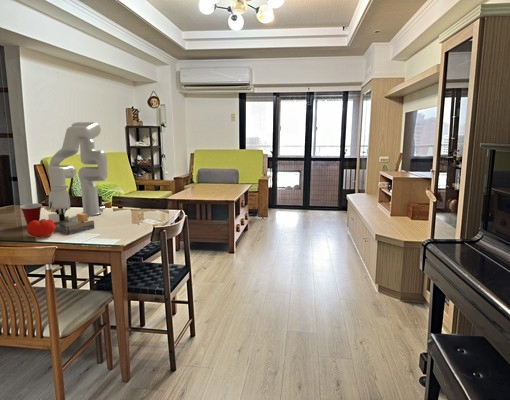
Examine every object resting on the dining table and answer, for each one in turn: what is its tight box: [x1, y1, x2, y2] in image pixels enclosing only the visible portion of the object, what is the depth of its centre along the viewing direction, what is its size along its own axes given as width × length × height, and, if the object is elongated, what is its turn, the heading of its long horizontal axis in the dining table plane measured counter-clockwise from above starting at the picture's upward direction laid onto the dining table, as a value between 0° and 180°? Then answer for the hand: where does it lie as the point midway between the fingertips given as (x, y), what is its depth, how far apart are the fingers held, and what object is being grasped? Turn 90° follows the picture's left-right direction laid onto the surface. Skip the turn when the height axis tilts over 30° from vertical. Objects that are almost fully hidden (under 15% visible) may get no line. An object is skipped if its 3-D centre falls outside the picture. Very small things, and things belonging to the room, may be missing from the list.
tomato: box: [26, 218, 56, 239], centre depth 179 cm, size 14×13×9 cm
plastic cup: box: [19, 203, 43, 226], centre depth 201 cm, size 11×11×12 cm
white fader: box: [47, 212, 60, 224], centre depth 194 cm, size 3×5×5 cm, turn 61°
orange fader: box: [76, 212, 89, 223], centre depth 195 cm, size 3×5×5 cm, turn 61°
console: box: [54, 215, 95, 235], centre depth 194 cm, size 15×24×4 cm, turn 61°
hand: (61, 220), depth 198 cm, fingers closed
